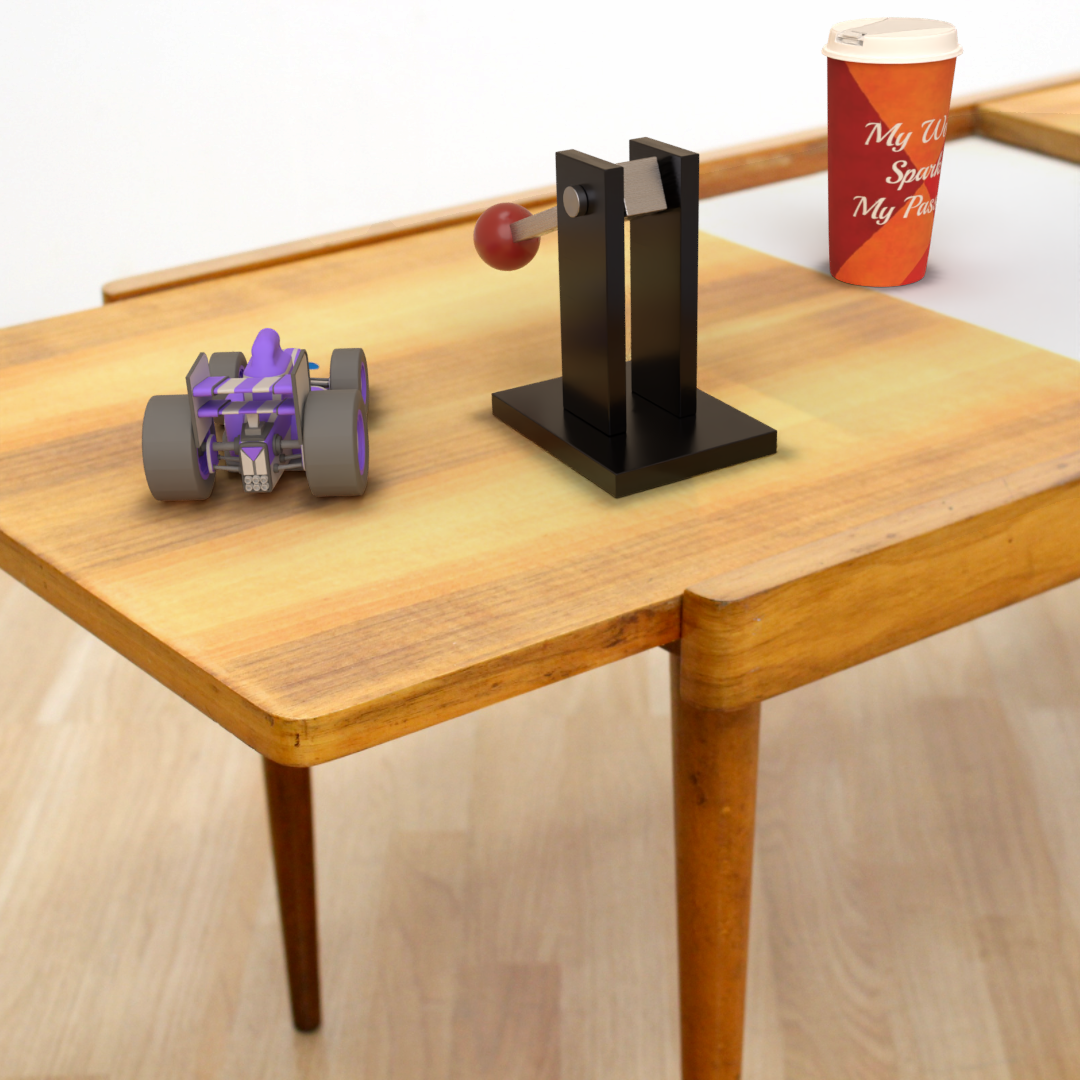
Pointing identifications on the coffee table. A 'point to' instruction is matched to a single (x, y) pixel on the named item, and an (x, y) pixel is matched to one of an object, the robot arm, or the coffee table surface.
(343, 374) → the toy race car
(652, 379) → the bracket
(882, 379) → the coffee table surface
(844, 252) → the coffee cup
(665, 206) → the lever
